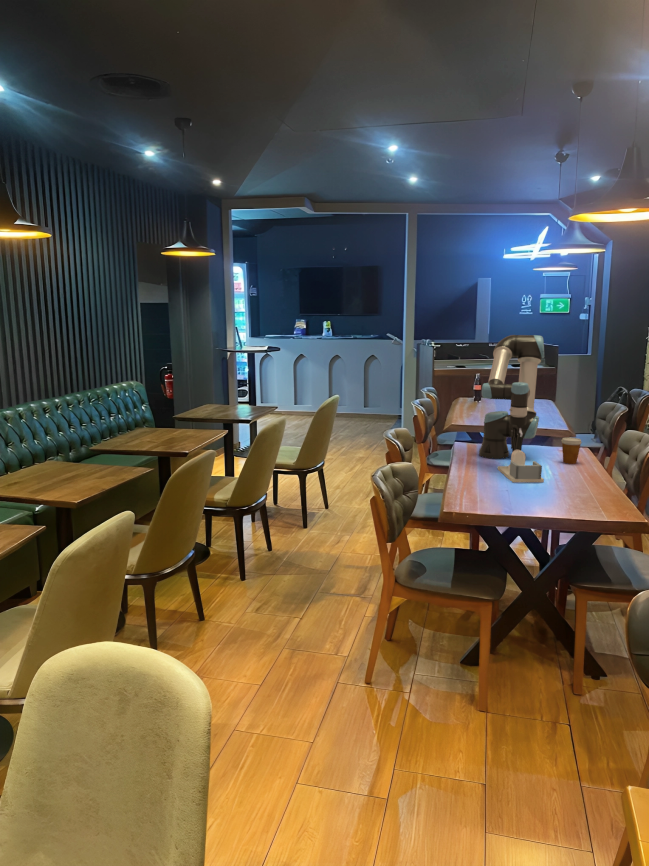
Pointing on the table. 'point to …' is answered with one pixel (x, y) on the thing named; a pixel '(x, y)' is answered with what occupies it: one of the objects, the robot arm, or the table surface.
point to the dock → (522, 472)
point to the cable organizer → (518, 457)
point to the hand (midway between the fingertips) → (515, 465)
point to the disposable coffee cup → (570, 449)
